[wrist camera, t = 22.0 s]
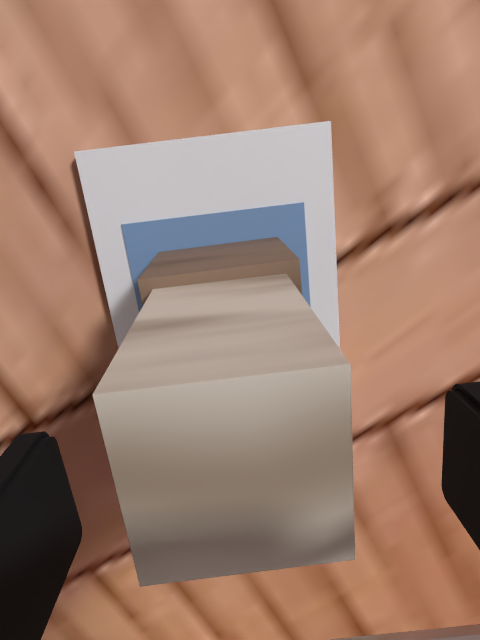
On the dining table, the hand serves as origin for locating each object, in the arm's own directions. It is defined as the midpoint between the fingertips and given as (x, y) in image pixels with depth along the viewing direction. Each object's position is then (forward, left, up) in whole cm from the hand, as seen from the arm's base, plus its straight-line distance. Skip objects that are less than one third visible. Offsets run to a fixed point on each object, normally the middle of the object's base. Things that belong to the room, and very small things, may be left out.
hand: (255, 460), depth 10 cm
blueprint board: (0, +1, -14) cm, 14 cm away
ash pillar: (0, 0, -7) cm, 7 cm away
